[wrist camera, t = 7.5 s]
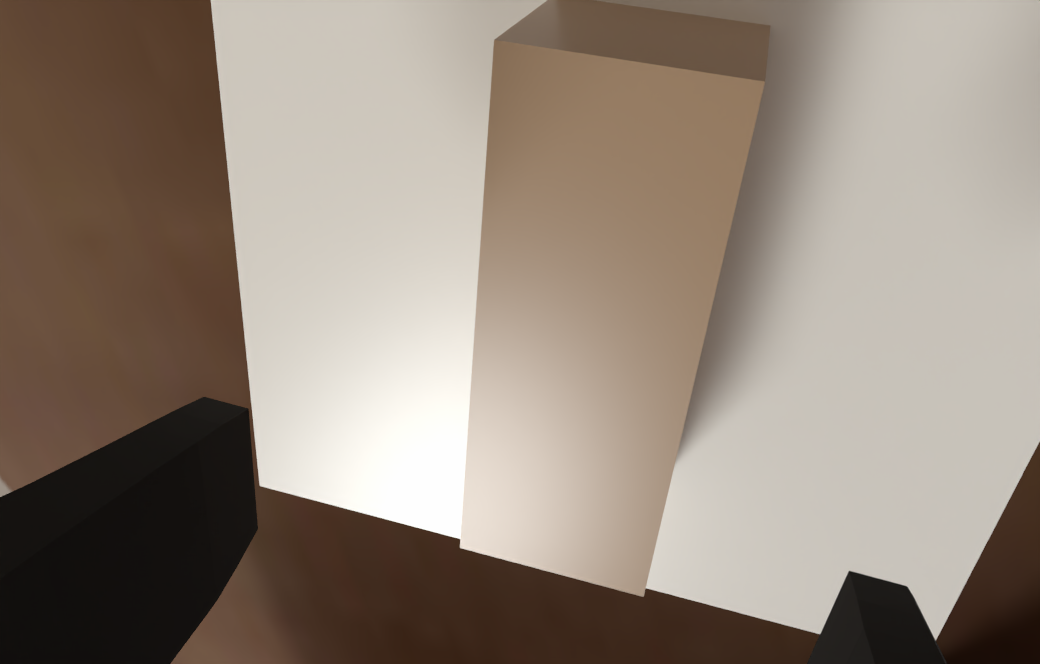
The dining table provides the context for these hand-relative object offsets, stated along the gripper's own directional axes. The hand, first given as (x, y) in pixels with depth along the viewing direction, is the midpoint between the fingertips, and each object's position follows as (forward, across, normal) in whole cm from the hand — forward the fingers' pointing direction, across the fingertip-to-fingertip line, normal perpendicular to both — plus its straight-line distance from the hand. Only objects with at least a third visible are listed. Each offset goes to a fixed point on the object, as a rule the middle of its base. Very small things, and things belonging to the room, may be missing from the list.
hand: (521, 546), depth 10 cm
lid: (+6, 0, -1) cm, 6 cm away
